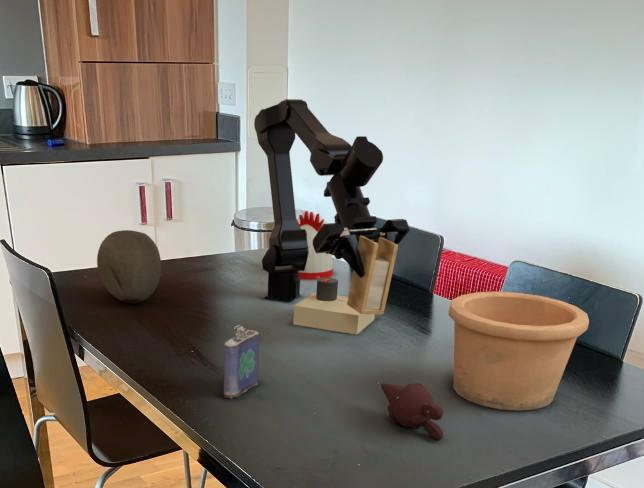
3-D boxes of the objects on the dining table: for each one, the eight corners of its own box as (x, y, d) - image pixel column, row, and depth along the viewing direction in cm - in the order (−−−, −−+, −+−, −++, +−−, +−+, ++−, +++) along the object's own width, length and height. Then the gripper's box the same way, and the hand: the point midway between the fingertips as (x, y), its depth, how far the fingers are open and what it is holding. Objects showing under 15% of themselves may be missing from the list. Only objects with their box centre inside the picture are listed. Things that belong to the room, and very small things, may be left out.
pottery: (481, 361, 147) (495, 284, 140) (592, 395, 134) (613, 312, 127) (412, 389, 134) (423, 305, 126) (527, 430, 120) (547, 339, 113)
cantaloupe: (175, 304, 173) (172, 234, 165) (115, 313, 166) (110, 240, 158) (146, 290, 183) (143, 222, 175) (89, 297, 176) (83, 227, 168)
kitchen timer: (315, 282, 194) (318, 218, 186) (268, 273, 200) (270, 211, 193) (342, 272, 204) (346, 211, 196) (297, 263, 210) (300, 204, 203)
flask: (233, 399, 127) (233, 335, 121) (218, 396, 128) (217, 332, 123) (261, 382, 134) (263, 320, 129) (246, 379, 135) (247, 318, 130)
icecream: (360, 374, 121) (420, 417, 111) (399, 356, 123) (462, 397, 113) (363, 411, 126) (421, 455, 115) (401, 393, 128) (461, 435, 117)
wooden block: (291, 324, 163) (292, 304, 161) (313, 309, 174) (314, 290, 171) (356, 334, 159) (358, 314, 157) (375, 318, 169) (377, 299, 167)
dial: (320, 294, 169) (321, 275, 167) (339, 297, 168) (341, 277, 166) (313, 299, 166) (314, 279, 164) (332, 302, 164) (334, 282, 162)
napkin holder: (346, 304, 153) (359, 235, 146) (368, 305, 154) (382, 237, 148) (360, 314, 148) (375, 243, 141) (383, 314, 150) (398, 245, 143)
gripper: (370, 225, 160) (395, 293, 158) (290, 230, 153) (315, 302, 150) (397, 190, 150) (424, 262, 148) (313, 194, 143) (340, 270, 140)
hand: (375, 275), depth 147 cm, fingers closed on napkin holder, 5 cm apart
